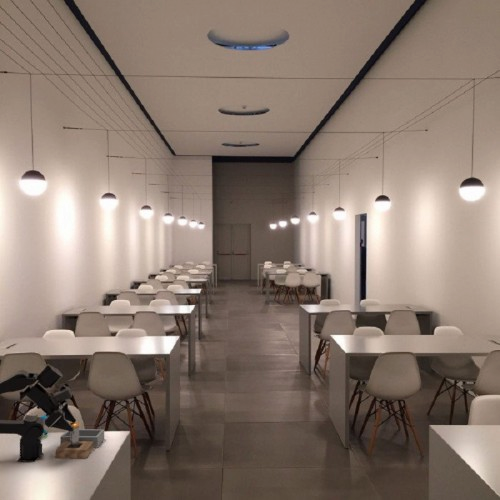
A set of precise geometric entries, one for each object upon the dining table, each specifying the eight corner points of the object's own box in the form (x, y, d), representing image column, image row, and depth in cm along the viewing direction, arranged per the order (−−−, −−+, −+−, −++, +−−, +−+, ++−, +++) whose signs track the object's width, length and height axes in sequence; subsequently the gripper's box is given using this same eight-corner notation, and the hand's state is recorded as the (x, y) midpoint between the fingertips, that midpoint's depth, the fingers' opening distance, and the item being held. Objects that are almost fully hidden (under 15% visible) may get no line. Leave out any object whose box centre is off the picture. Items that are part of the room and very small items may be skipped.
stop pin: (68, 455, 186) (68, 425, 186) (72, 451, 190) (71, 422, 189) (77, 455, 186) (77, 425, 186) (80, 452, 189) (80, 422, 189)
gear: (25, 428, 209) (44, 409, 211) (36, 436, 212) (55, 417, 213) (26, 441, 199) (45, 421, 201) (38, 450, 202) (57, 430, 204)
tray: (60, 447, 194) (60, 436, 194) (68, 439, 202) (68, 429, 202) (97, 447, 193) (97, 437, 193) (104, 439, 201) (104, 429, 201)
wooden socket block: (55, 458, 184) (55, 449, 184) (64, 449, 192) (64, 441, 192) (86, 458, 184) (85, 450, 184) (93, 449, 192) (93, 441, 192)
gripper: (54, 387, 177) (88, 417, 180) (61, 374, 195) (92, 401, 198) (30, 412, 176) (64, 442, 178) (39, 396, 194) (70, 423, 196)
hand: (74, 426), depth 188 cm, fingers open, 9 cm apart
